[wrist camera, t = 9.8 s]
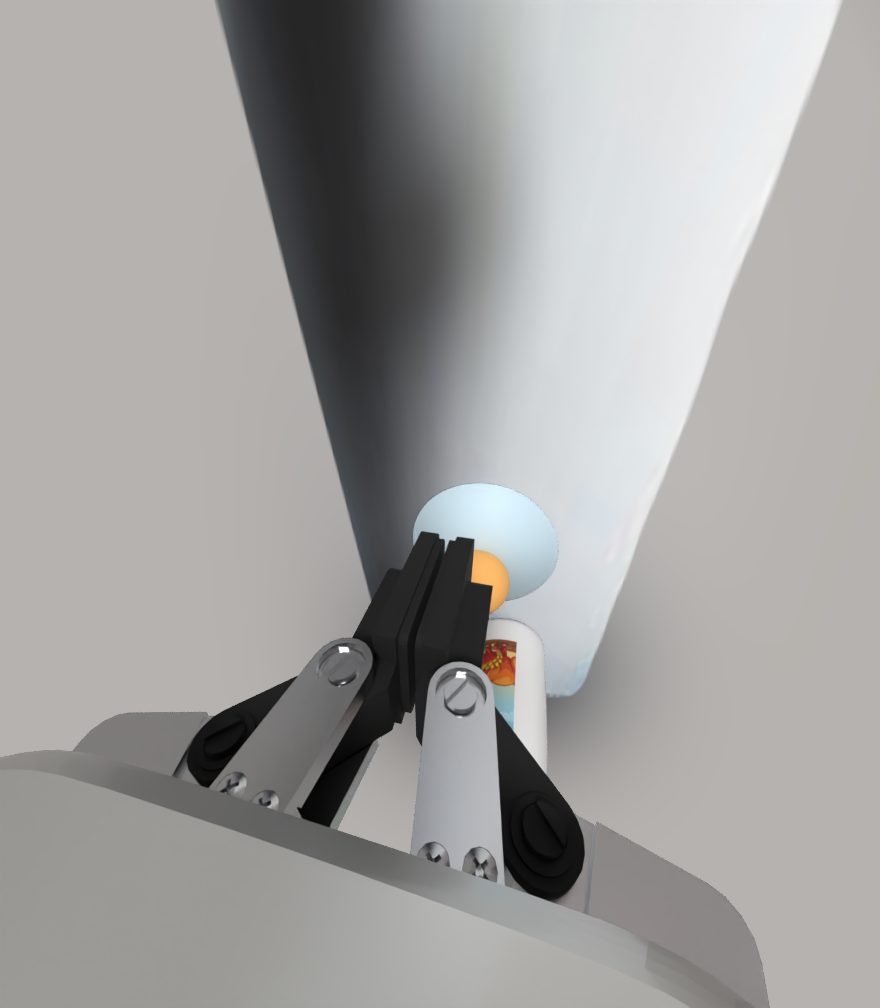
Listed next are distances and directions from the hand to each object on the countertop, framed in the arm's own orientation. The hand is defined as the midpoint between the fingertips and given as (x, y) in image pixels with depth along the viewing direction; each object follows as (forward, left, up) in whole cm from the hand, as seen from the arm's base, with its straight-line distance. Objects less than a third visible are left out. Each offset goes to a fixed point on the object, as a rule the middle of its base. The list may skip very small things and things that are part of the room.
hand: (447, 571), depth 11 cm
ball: (+14, 0, -14) cm, 20 cm away
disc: (+12, 0, -17) cm, 21 cm away
